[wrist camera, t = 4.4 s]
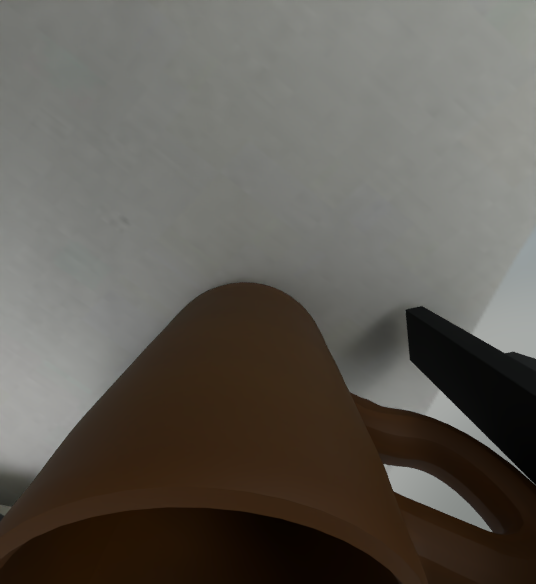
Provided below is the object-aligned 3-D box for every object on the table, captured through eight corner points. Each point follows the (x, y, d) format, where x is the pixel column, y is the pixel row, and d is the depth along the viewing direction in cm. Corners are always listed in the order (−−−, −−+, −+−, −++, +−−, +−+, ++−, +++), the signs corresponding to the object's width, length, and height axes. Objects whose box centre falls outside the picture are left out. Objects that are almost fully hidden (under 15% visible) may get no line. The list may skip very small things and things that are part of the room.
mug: (421, 291, 12) (885, 517, 3) (385, 418, 14) (593, 767, 5) (170, 270, 12) (-155, 455, 3) (174, 404, 14) (3, 754, 5)
